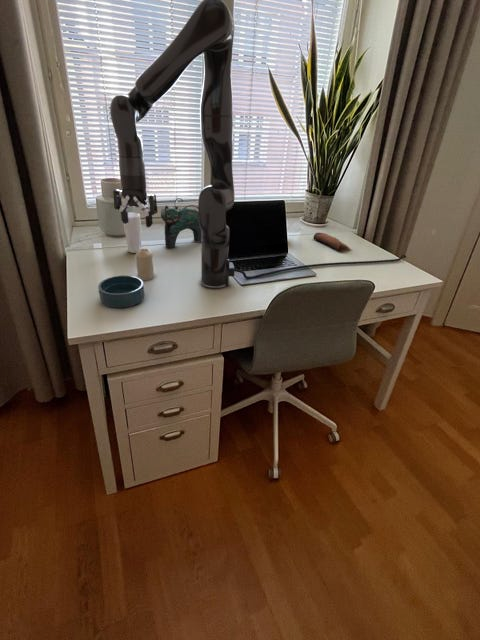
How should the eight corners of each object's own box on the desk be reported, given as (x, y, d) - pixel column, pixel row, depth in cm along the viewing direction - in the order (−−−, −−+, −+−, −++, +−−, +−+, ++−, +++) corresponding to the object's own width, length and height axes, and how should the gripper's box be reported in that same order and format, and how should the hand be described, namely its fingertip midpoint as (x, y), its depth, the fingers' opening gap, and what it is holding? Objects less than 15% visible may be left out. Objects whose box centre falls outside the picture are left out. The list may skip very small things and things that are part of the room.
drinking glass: (144, 253, 142) (141, 216, 134) (127, 254, 140) (123, 217, 132) (142, 247, 148) (138, 212, 140) (125, 249, 145) (121, 212, 137)
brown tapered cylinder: (352, 248, 160) (349, 237, 156) (340, 258, 160) (337, 247, 155) (325, 236, 173) (322, 226, 169) (315, 245, 172) (311, 234, 168)
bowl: (145, 288, 116) (144, 275, 114) (142, 308, 105) (141, 294, 103) (104, 289, 114) (102, 275, 111) (97, 309, 103) (94, 295, 100)
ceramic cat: (167, 250, 147) (164, 201, 136) (159, 245, 151) (156, 198, 140) (206, 242, 158) (206, 196, 147) (198, 238, 162) (197, 193, 152)
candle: (149, 281, 121) (147, 253, 116) (135, 278, 122) (132, 251, 117) (156, 274, 126) (154, 248, 121) (142, 272, 127) (139, 246, 121)
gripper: (159, 173, 108) (162, 225, 116) (119, 168, 111) (124, 219, 119) (147, 176, 102) (151, 231, 110) (104, 171, 105) (111, 224, 113)
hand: (137, 224), depth 115 cm, fingers open, 8 cm apart
